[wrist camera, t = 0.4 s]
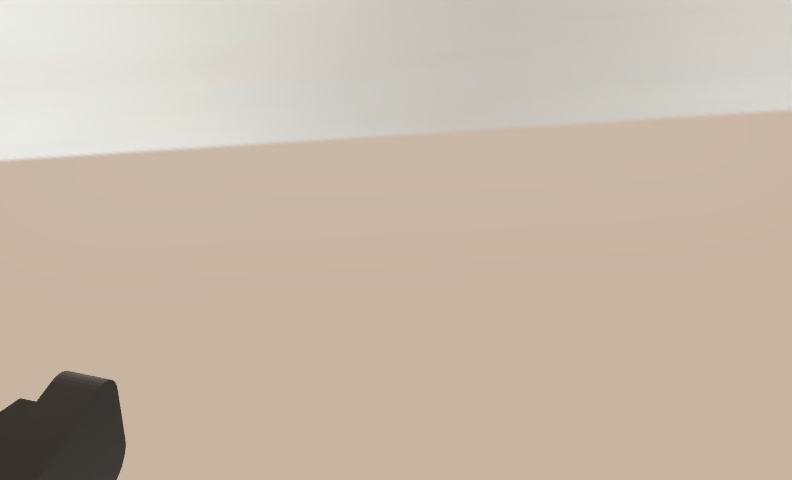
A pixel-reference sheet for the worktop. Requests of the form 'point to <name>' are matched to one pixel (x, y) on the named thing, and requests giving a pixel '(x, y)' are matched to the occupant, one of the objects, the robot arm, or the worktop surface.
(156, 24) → the worktop surface
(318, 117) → the worktop surface
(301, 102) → the worktop surface
